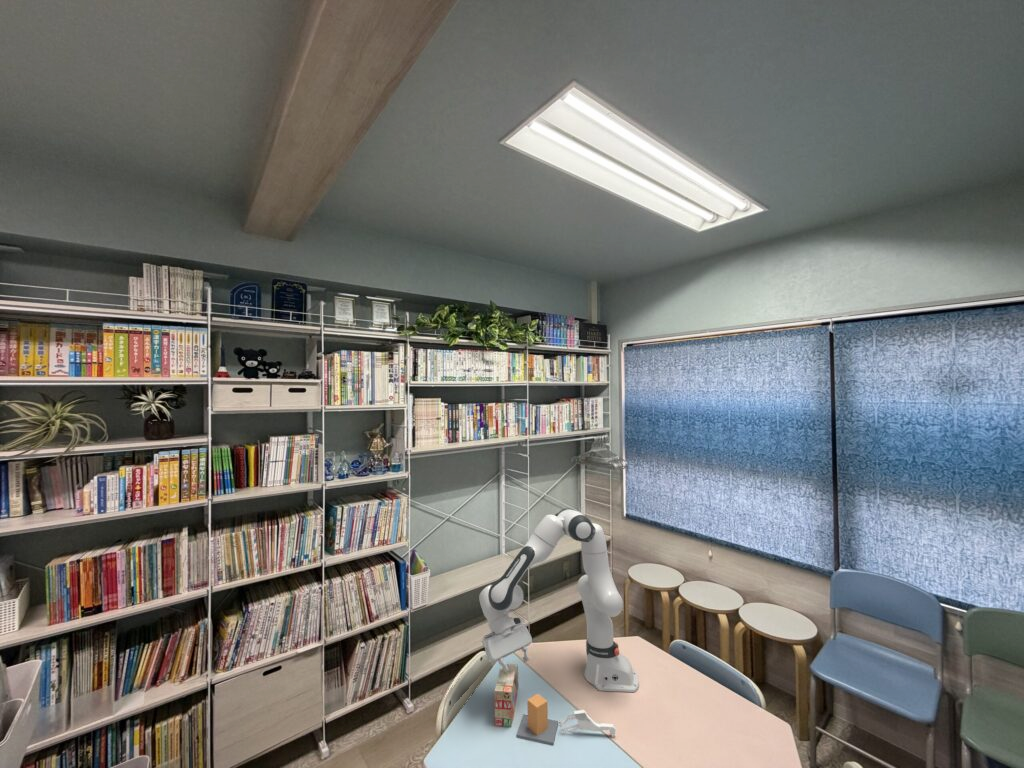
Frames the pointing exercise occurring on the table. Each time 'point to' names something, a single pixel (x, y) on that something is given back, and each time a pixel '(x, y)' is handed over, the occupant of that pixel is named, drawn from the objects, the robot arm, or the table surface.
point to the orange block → (537, 714)
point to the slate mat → (543, 737)
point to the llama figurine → (586, 723)
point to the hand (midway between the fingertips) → (517, 665)
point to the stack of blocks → (506, 696)
